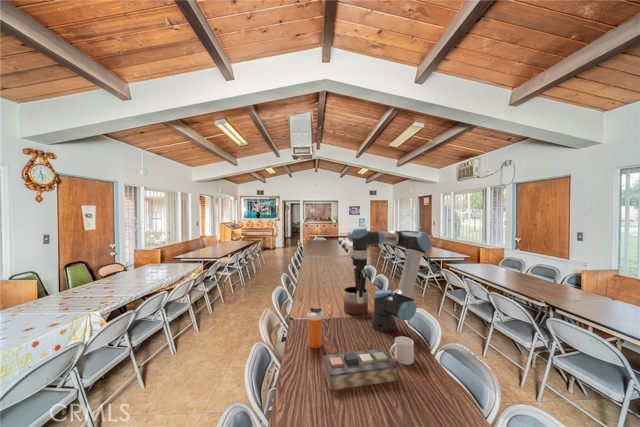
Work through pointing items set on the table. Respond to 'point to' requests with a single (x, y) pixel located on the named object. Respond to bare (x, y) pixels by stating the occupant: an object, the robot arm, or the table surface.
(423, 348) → the table surface
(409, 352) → the mug
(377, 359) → the key sage
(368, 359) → the key ivory
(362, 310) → the planter
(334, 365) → the key terracotta
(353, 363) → the key dark gray
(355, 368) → the console
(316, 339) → the shaker bottle
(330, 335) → the table surface
